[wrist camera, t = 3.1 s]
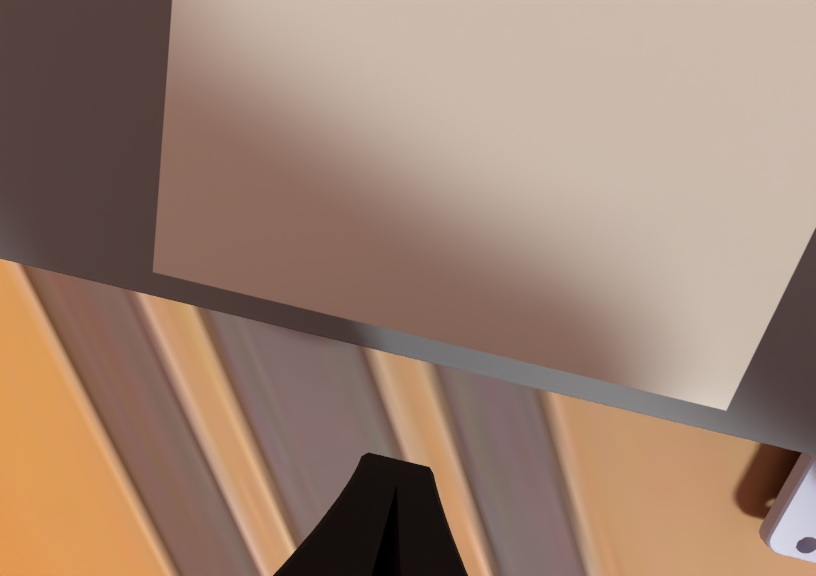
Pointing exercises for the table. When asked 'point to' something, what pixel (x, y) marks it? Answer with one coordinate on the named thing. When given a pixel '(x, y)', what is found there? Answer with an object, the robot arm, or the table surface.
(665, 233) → the cream tile
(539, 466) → the table surface
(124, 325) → the table surface
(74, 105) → the bench plate
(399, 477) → the robot arm
